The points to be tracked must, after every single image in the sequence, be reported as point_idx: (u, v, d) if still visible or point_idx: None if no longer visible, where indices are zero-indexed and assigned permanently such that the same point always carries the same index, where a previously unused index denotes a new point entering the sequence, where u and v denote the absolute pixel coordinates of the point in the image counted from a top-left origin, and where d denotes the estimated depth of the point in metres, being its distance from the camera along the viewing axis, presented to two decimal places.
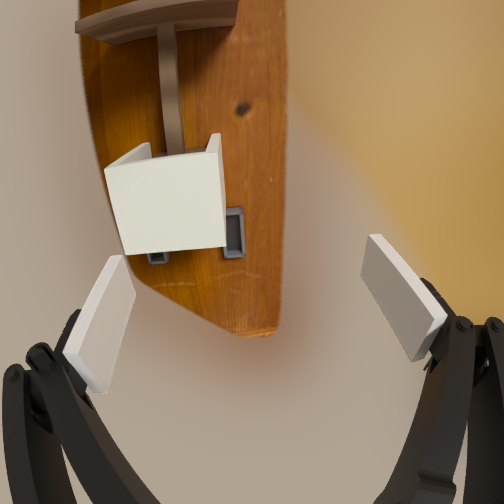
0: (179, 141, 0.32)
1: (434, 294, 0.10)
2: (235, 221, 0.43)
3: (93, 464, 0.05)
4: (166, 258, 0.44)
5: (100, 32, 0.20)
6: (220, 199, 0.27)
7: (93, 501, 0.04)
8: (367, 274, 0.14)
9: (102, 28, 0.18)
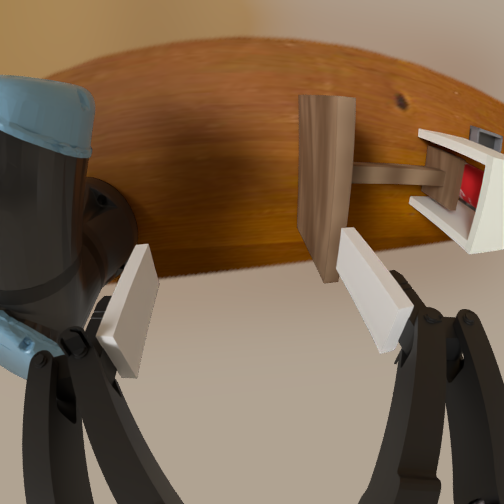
0: (435, 173, 0.29)
1: (404, 285, 0.11)
2: (479, 135, 0.30)
3: (118, 453, 0.05)
4: None
5: None
6: None
7: (112, 490, 0.04)
8: (341, 267, 0.15)
9: None
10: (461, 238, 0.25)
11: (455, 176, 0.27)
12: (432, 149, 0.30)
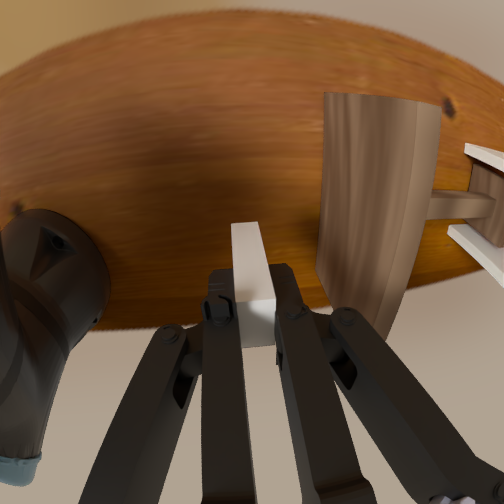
0: (487, 202, 0.20)
1: (288, 279, 0.12)
2: None
3: (228, 433, 0.06)
4: None
5: None
6: None
7: (202, 466, 0.05)
8: None
9: None
10: None
11: None
12: (479, 169, 0.22)
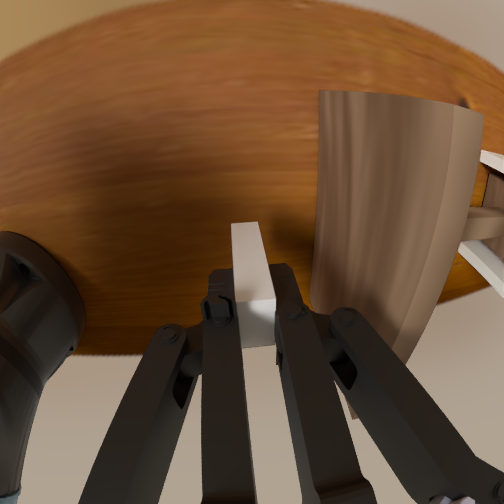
0: None
1: (288, 279, 0.12)
2: None
3: (228, 433, 0.06)
4: None
5: None
6: None
7: (202, 466, 0.05)
8: None
9: None
10: None
11: None
12: (496, 180, 0.18)
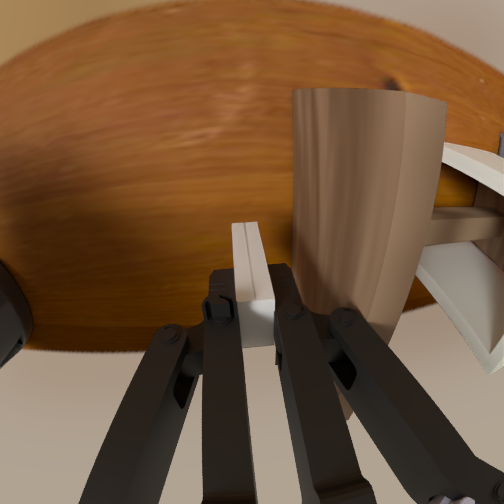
0: (496, 220, 0.16)
1: (287, 279, 0.12)
2: None
3: (229, 433, 0.06)
4: None
5: None
6: None
7: (203, 466, 0.05)
8: None
9: None
10: (481, 346, 0.13)
11: None
12: None
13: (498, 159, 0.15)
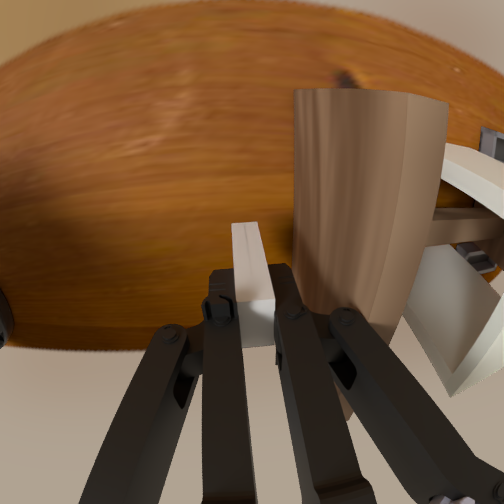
0: (496, 221, 0.16)
1: (287, 279, 0.12)
2: None
3: (229, 433, 0.06)
4: None
5: None
6: None
7: (203, 466, 0.05)
8: None
9: None
10: (443, 364, 0.13)
11: None
12: None
13: (474, 154, 0.15)
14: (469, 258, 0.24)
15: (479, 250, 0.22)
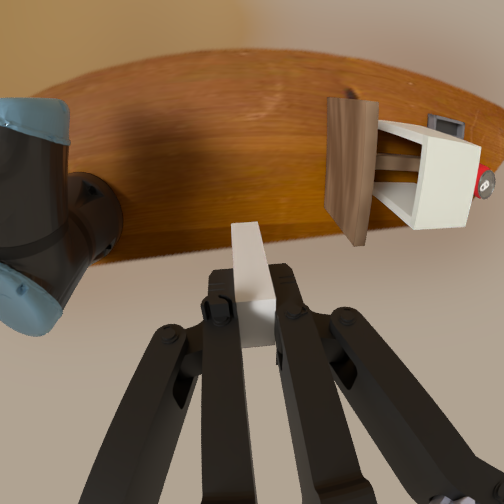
0: None
1: (288, 279, 0.12)
2: (438, 122, 0.35)
3: (228, 434, 0.06)
4: None
5: None
6: (456, 142, 0.24)
7: (202, 466, 0.05)
8: None
9: None
10: (406, 215, 0.30)
11: None
12: None
13: (417, 126, 0.33)
14: None
15: None
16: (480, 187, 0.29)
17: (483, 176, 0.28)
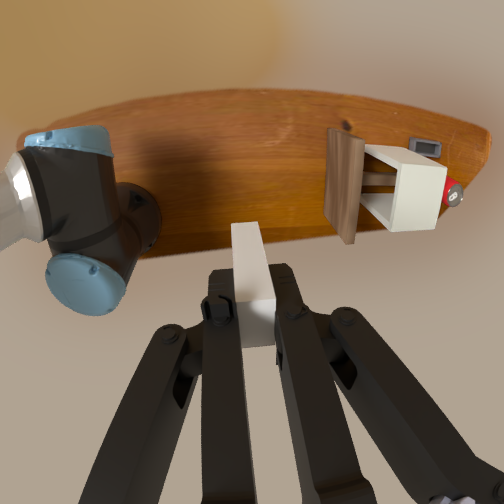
0: None
1: (288, 279, 0.12)
2: (418, 143, 0.47)
3: (228, 433, 0.06)
4: None
5: None
6: (424, 166, 0.35)
7: (202, 466, 0.05)
8: None
9: None
10: (386, 221, 0.42)
11: None
12: None
13: (398, 150, 0.44)
14: None
15: None
16: (449, 198, 0.41)
17: (451, 189, 0.40)
